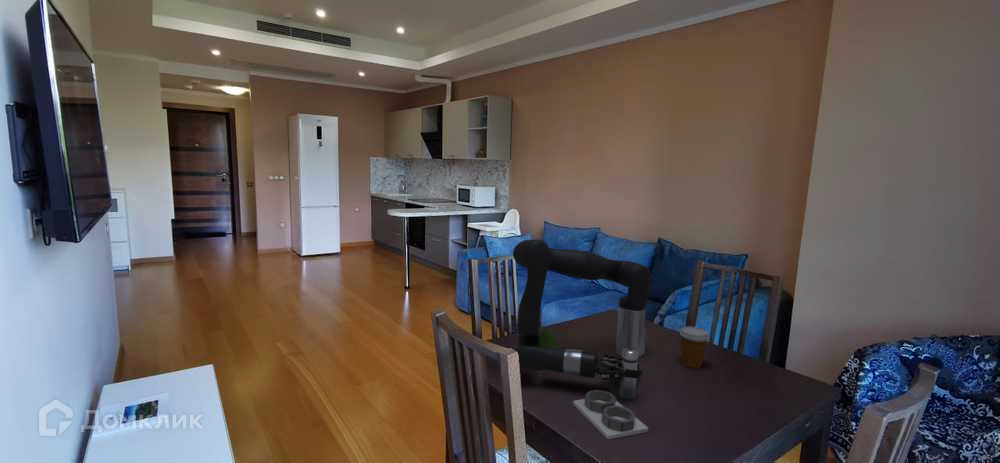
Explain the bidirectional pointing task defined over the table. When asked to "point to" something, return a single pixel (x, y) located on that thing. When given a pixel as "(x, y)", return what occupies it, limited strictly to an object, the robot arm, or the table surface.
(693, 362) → the disposable coffee cup
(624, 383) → the tube
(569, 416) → the table surface
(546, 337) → the avocado
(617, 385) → the phone
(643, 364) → the table surface
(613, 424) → the hex nut holder
